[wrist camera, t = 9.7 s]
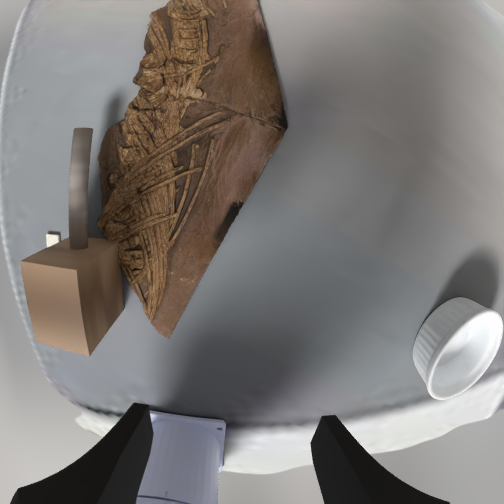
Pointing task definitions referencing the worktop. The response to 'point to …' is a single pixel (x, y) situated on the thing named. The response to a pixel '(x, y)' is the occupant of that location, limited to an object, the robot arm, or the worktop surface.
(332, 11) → the worktop surface
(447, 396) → the ramekin
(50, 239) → the strip
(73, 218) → the mallet
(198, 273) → the wooden fragment
